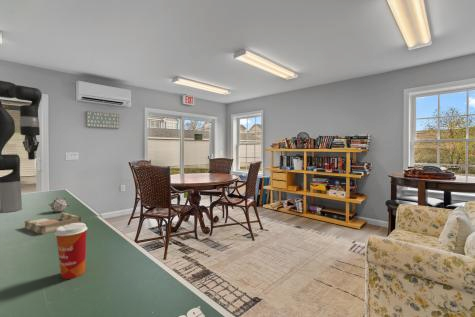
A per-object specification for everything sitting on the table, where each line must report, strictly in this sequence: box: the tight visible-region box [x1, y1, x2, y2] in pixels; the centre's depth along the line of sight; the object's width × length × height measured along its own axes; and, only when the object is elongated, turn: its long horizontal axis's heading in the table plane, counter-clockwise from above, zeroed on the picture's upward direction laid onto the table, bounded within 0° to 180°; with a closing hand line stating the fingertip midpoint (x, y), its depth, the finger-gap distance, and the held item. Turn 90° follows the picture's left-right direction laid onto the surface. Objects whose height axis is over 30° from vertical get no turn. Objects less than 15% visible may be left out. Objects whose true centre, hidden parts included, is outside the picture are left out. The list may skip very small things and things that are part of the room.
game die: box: [48, 197, 70, 214], centre depth 134 cm, size 9×8×10 cm
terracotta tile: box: [39, 219, 61, 225], centre depth 108 cm, size 6×6×3 cm
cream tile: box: [32, 218, 50, 223], centre depth 110 cm, size 6×6×3 cm
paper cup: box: [54, 222, 88, 280], centre depth 68 cm, size 8×8×14 cm
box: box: [24, 211, 82, 235], centre depth 110 cm, size 17×15×4 cm
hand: (31, 159), depth 122 cm, fingers closed
